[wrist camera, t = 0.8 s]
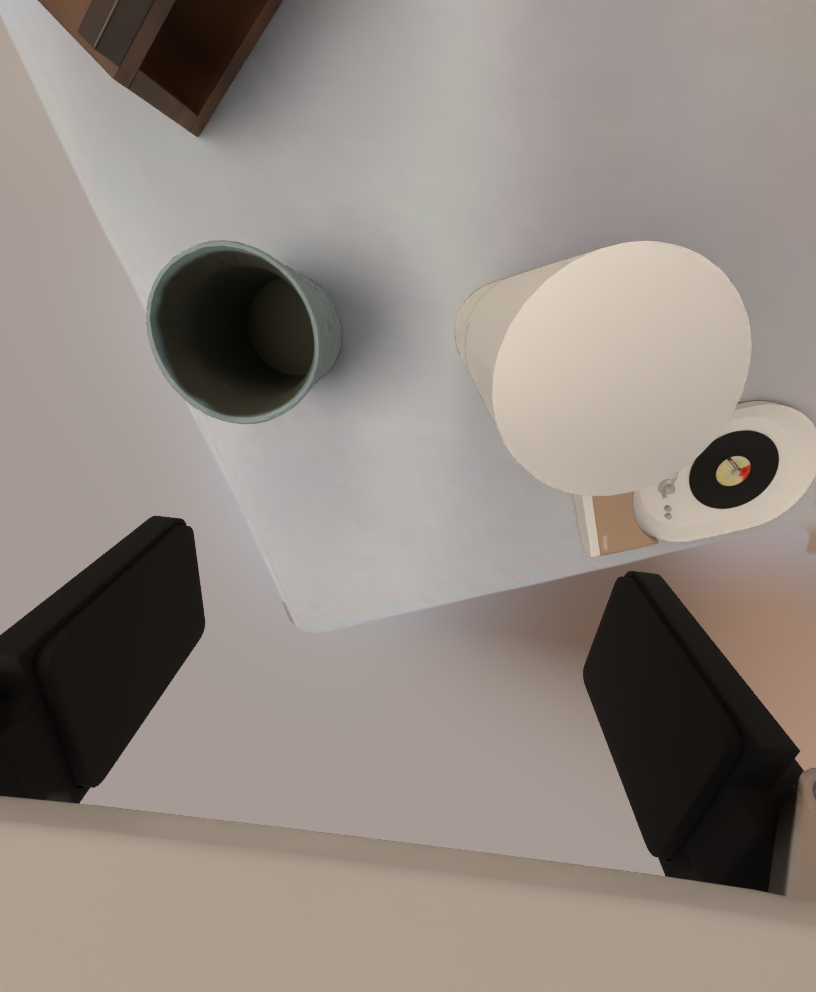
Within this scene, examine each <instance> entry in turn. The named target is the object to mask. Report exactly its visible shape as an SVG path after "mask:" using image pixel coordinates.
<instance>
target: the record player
mask: <svg viewBox="0 0 816 992" xmlns="http://www.w3.org/2000/svg"><path fill="white" fill-rule="evenodd" d="M815 475H816V428H815V426H814V424H813V423H812V422H811V421H810V420H809V419H808V418H807V417H806V416H805V415H804V414H802V413H801V412H799V411H797V410H795V409H793V408H790V407H787V406H784V405H780V404H777V403H773V402H768V401H750V402H744V403H740V404H737V406H736V408H735V410H734V412H733V414H732V416H731V417H730V419H729V420H728V422H727V423H726V425H725V426H724V427H723V429H722V430H721V432H720V433H719V435H718V436H717V437H716V438H715V439H714V440H713V441H712V443H711V444H710V445H709V446H708V447H707V448H706V449H705V450H704V451H703V452H702V453H701V454H700V455H699V456H698V457H697V458H695V459H694V460H693V461H691V462H690V463H689V464H687V465H686V466H685V467H683V468H682V469H681V470H679V471H678V472H676V473H675V474H673V475H671V476H669V477H667V478H665V479H663V480H661V481H660V482H658V483H656V484H654V485H651V486H648V487H645V488H642V489H639V490H636V491H633V492H629V493H623V494H617V495H611V496H586V495H580V494H574V493H573V496H574V503H575V509H576V515H577V521H578V527H579V534H580V540H581V543H582V546H583V548H584V550H585V552H586V553H587V555H588V556H589V557H590V558H594V557H599V556H604V555H608V554H613V553H617V552H622V551H627V550H631V549H636V548H640V547H645V546H649V545H654V544H658V543H659V542H658V540H657V539H656V538H658V539H661V540H665V541H670V542H686V541H693V540H698V539H703V538H708V537H713V536H718V535H722V534H727V533H731V532H736V531H740V530H744V529H748V528H752V527H756V526H759V525H762V524H764V523H767V522H769V521H771V520H773V519H775V518H776V517H778V516H780V515H781V514H783V513H784V512H785V511H787V510H788V509H789V508H791V507H792V506H793V505H794V504H795V503H796V502H797V501H798V500H799V499H800V498H801V497H802V496H803V494H804V493H805V492H806V491H807V489H808V488H809V486H810V485H811V483H812V481H813V479H814V477H815Z"/></svg>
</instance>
